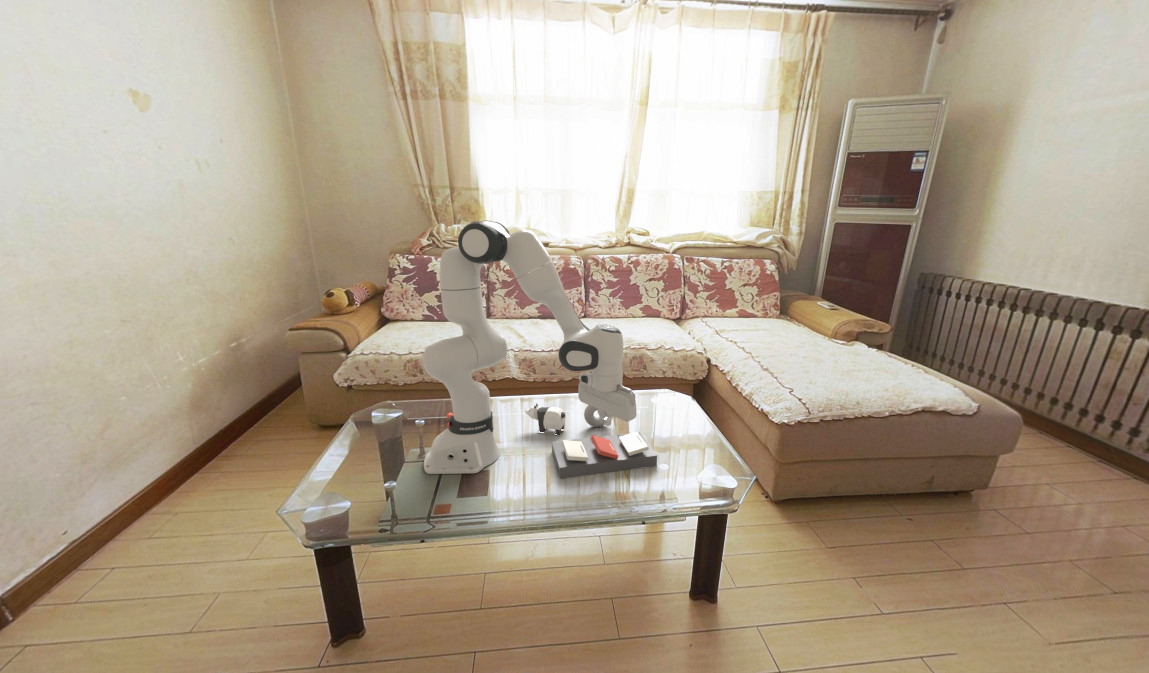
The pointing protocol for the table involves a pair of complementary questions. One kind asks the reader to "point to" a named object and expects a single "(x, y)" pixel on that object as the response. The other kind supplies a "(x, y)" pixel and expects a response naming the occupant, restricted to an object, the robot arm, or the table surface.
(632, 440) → the rocker right
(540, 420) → the giant panda
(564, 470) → the rocker switch panel
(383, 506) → the table surface
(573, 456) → the rocker left
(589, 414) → the donut
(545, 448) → the table surface
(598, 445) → the rocker middle
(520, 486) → the table surface
